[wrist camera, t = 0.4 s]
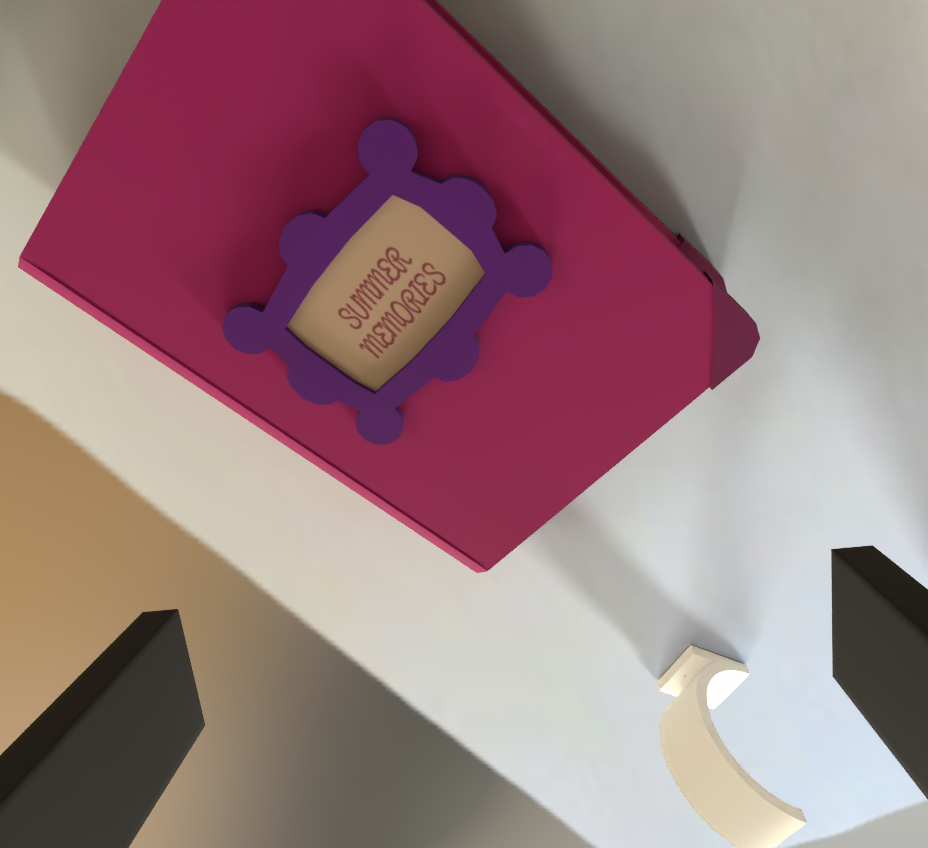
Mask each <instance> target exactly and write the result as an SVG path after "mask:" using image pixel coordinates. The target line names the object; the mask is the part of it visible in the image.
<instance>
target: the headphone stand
mask: <svg viewBox="0 0 928 848" xmlns="http://www.w3.org/2000/svg"><path fill="white" fill-rule="evenodd" d="M749 674H750V673H749V671H748V668H747V665H745V664H742V663H739V662H736V661H734V660H731V659H728V658H725V657H723V656H720V655H717V654H714V653H712V652H709V651H706V650H703V649H701V648H698V647H695V646H692V645H690V646H689V647H688V648H687V650H686V651H685V652H684V653H683V654H682V655H681V656H680V657H679V658H678V659H677V660H676V662H675V663H674V664H673V665H672V666H671V667H670V668H669V669H668V670H667V671H666V672H665V674H664V675H663V676H662V677H661V678H660V679H659V680H658V681H657V683H658V687H659V691H662V692H665V693H668V694H671V695H673V696H676V698H675V699H674V700H673V701H672V702H671V703H670V704H669V705H668V707H667V708H666V709H665V711H664V713H663V715H662V718H661V723H660V741H661V746H662V750H663V754H664V757H665V760H666V763H667V766H668V768H669V770H670V772H671V775H672V776H673V778H674V780H675V782H676V784H677V786H678V787H679V789H680V790H681V792H682V794H683V795H684V797H685V798H686V799H687V801H688V802H689V803H690V805H691V806H692V807H693V809H694V810H695V811H696V812H697V813H698V814H699V816H700V817H701V818H702V819H703V820H704V821H705V822H706V823H707V824H708V825H709V826H710V827H711V828H712V829H713V830H714V831H716V832H717V833H718V834H719V835H720V836H722V837H723V838H724V839H725V840H727V841H728V842H730V843H731V844H733V845H734V846H735V847H737V848H775V847H776V846H778V845H779V844H780V843H781V842H783V841H784V840H785V839H787V838H788V837H789V836H790V835H792V834H793V833H794V832H796V831H797V830H798V829H799V828H801V827H802V826H803V825H805V824H806V823H807V822H806V820H805V817H804V814H803V812H802V810H801V809H799V808H796V807H793V806H791V805H789V804H787V803H785V802H784V801H782V800H780V799H779V798H777V797H775V796H774V795H773V794H771V793H770V792H768V791H767V790H766V789H765V788H763V787H762V786H761V785H760V784H758V783H757V782H756V781H755V780H754V779H753V778H752V777H751V776H750V775H749V774H748V773H747V772H746V771H745V770H744V769H743V768H742V767H741V765H740V764H739V763H738V762H737V761H736V760H735V758H734V757H733V756H732V754H731V753H730V752H729V750H728V749H727V747H726V746H725V744H724V743H723V741H722V739H721V738H720V736H719V734H718V732H717V730H716V728H715V726H714V724H713V721H712V719H711V716H710V712H709V709H708V708H711V709H715V708H716V707H717V706H718V705H719V704H720V703H721V702H722V701H723V700H724V699H725V698H726V697H727V696H728V695H729V694H730V693H731V692H732V691H733V690H734V689H735V688H736V687H737V686H738V685H739V684H740V683H741V682H742V681H743V680H744V679H745V678H746V677H747V676H748V675H749Z"/></svg>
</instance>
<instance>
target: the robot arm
mask: <svg viewBox="0 0 928 848" xmlns="http://www.w3.org/2000/svg"><path fill="white" fill-rule="evenodd" d="M831 553H832V650H833V677H834V679H835V680H836V681H837V682H838V684H839V685H840V686H841V688H842V689H843V690H844V692H845V693H846V694H847V695H848V697H849V698H850V699H851V701H852V702H853V703H854V704H855V706H856V707H857V708H858V710H859V711H860V712H861V714H862V715H863V716H864V717H865V719H866V720H867V721H868V723H869V724H870V725H871V726H872V728H873V729H874V730H875V732H876V733H877V734H878V736H879V737H880V738H881V739H882V741H883V742H884V743H885V745H886V746H887V747H888V749H889V750H890V751H891V752H892V754H893V755H894V756H895V758H896V759H897V760H898V761H899V763H900V764H901V765H902V767H903V768H904V769H905V771H906V772H907V773H908V774H909V776H910V777H911V778H912V780H913V781H914V782H915V783H916V785H917V786H918V787H919V789H920V790H921V791H922V793H923V794H924V795H925V796H926V798H927V799H928V589H926V588H925V587H924V586H923V585H921V584H920V583H919V582H918V581H916V580H915V579H914V578H913V577H911V576H910V575H909V574H908V573H906V572H905V571H904V570H903V569H901V568H900V567H899V566H898V565H896V564H895V563H894V562H893V561H891V560H890V559H889V558H888V557H886V556H885V555H884V554H883V553H881V552H880V551H879V550H878V549H876V548H875V547H874V546H862V547H851V548H840V549H831ZM204 726H205V723H204V718H203V714H202V709H201V705H200V701H199V697H198V692H197V688H196V684H195V680H194V675H193V671H192V667H191V662H190V658H189V654H188V649H187V646H186V641H185V637H184V633H183V628H182V624H181V620H180V615H179V611H178V609H174V610H162V611H151V612H143V613H142V614H141V615H140V616H139V617H138V618H137V619H136V620H135V621H134V622H133V623H132V624H131V625H130V626H129V627H128V628H127V629H126V630H125V631H124V632H123V633H122V634H121V635H120V636H119V637H118V638H117V639H116V640H115V641H114V642H113V643H112V644H111V645H110V646H109V647H108V648H107V649H106V650H105V651H104V652H103V653H102V654H101V655H100V656H99V657H98V658H97V659H96V660H95V661H94V662H93V663H92V664H91V665H90V666H89V667H88V668H87V669H86V670H85V671H84V672H83V673H82V674H81V675H80V676H79V677H78V678H77V679H76V680H75V681H74V682H73V683H72V684H71V685H70V686H69V687H68V688H67V689H66V690H65V691H64V692H63V693H62V694H61V695H60V696H59V697H58V698H57V699H56V700H55V701H54V702H53V703H52V704H51V705H50V706H49V707H48V708H47V709H46V710H45V711H44V712H43V713H42V714H41V715H40V716H39V717H38V718H37V719H36V720H35V721H34V722H33V723H32V724H31V725H30V726H29V727H28V728H27V729H26V730H25V731H24V732H23V733H22V734H21V735H20V736H19V737H18V738H17V739H16V740H15V741H14V742H13V743H12V744H11V745H10V746H9V747H8V748H7V749H6V750H5V751H4V752H3V753H2V755H0V848H129V846H130V844H131V843H132V841H133V840H134V838H135V836H136V835H137V833H138V832H139V830H140V828H141V827H142V825H143V824H144V822H145V820H146V819H147V817H148V816H149V814H150V812H151V811H152V809H153V808H154V806H155V804H156V803H157V801H158V799H159V798H160V796H161V795H162V793H163V792H164V790H165V789H166V787H167V785H168V784H169V782H170V780H171V779H172V777H173V776H174V774H175V773H176V771H177V769H178V768H179V766H180V765H181V763H182V761H183V759H184V758H185V757H186V755H187V753H188V752H189V750H190V749H191V747H192V745H193V744H194V742H195V741H196V739H197V737H198V736H199V734H200V733H201V731H202V730H203V728H204Z"/></svg>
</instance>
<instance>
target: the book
mask: <svg viewBox="0 0 928 848" xmlns="http://www.w3.org/2000/svg"><path fill="white" fill-rule="evenodd" d="M18 267H19V268H20V269H22V270H23V271H25V272H26V273H28V274H29V275H31V276H32V277H34V278H35V279H37V280H38V281H40V282H41V283H43V284H44V285H46V286H47V287H49V288H50V289H52V290H53V291H55V292H56V293H58V294H59V295H61V296H62V297H64V298H65V299H67V300H68V301H70V302H71V303H73V304H74V305H76V306H77V307H79V308H80V309H82V310H83V311H85V312H86V313H88V314H89V315H91V316H92V317H94V318H95V319H97V320H98V321H100V322H101V323H103V324H104V325H106V326H107V327H109V328H110V329H112V330H113V331H115V332H116V333H118V334H119V335H121V336H122V337H124V338H125V339H127V340H128V341H130V342H131V343H133V344H134V345H136V346H137V347H139V348H140V349H142V350H143V351H145V352H146V353H148V354H149V355H151V356H152V357H154V358H155V359H157V360H158V361H160V362H161V363H163V364H164V365H166V366H167V367H169V368H170V369H172V370H173V371H175V372H176V373H178V374H179V375H181V376H182V377H184V378H185V379H187V380H188V381H190V382H191V383H193V384H194V385H196V386H197V387H199V388H200V389H202V390H203V391H205V392H206V393H208V394H209V395H211V396H212V397H214V398H215V399H217V400H218V401H220V402H221V403H223V404H224V405H226V406H227V407H229V408H230V409H232V410H233V411H235V412H236V413H238V414H239V415H241V416H242V417H244V418H245V419H247V420H248V421H250V422H251V423H253V424H254V425H256V426H257V427H259V428H260V429H262V430H263V431H265V432H266V433H268V434H269V435H271V436H272V437H274V438H275V439H277V440H278V441H280V442H281V443H283V444H284V445H286V446H287V447H289V448H290V449H292V450H293V451H295V452H296V453H298V454H299V455H301V456H302V457H304V458H305V459H307V460H308V461H310V462H311V463H313V464H314V465H316V466H317V467H319V468H320V469H322V470H323V471H325V472H326V473H328V474H329V475H331V476H332V477H334V478H335V479H337V480H338V481H340V482H341V483H343V484H344V485H346V486H347V487H349V488H350V489H352V490H353V491H355V492H356V493H358V494H359V495H361V496H362V497H364V498H365V499H367V500H368V501H370V502H371V503H373V504H374V505H376V506H377V507H379V508H380V509H382V510H383V511H385V512H386V513H388V514H389V515H391V516H392V517H394V518H395V519H397V520H398V521H400V522H401V523H403V524H404V525H406V526H407V527H409V528H410V529H412V530H413V531H415V532H416V533H418V534H419V535H421V536H422V537H424V538H425V539H427V540H428V541H430V542H431V543H433V544H434V545H436V546H437V547H439V548H440V549H442V550H443V551H445V552H446V553H448V554H449V555H451V556H452V557H454V558H455V559H457V560H458V561H460V562H461V563H463V564H464V565H466V566H467V567H469V568H470V569H472V570H473V571H475V572H477V573H480V572H485V571H488V570H489V569H491V568H492V567H493V566H494V565H495V564H497V563H498V562H499V561H500V560H501V559H503V558H504V557H505V556H506V555H508V554H509V553H510V552H511V551H512V550H514V549H515V548H516V547H517V546H518V545H520V544H521V543H522V542H523V541H524V540H526V539H527V538H528V537H529V536H530V535H532V534H533V533H534V532H535V531H536V530H538V529H539V528H540V527H541V526H543V525H544V524H545V523H546V522H547V521H549V520H550V519H551V518H552V517H553V516H555V515H556V514H557V513H558V512H559V511H561V510H562V509H563V508H564V507H565V506H567V505H568V504H569V503H570V502H571V501H573V500H574V499H575V498H576V497H577V496H579V495H580V494H581V493H582V492H584V491H585V490H586V489H587V488H588V487H590V486H591V485H592V484H593V483H594V482H596V481H597V480H598V479H599V478H600V477H602V476H603V475H604V474H605V473H606V472H608V471H609V470H610V469H611V468H612V467H614V466H615V465H616V464H617V463H619V462H620V461H621V460H622V459H623V458H625V457H626V456H627V455H628V454H629V453H631V452H632V451H633V450H634V449H635V448H637V447H638V446H639V445H640V444H641V443H643V442H644V441H645V440H646V439H647V438H649V437H650V436H651V435H652V434H653V433H655V432H656V431H657V430H658V429H660V428H661V427H662V426H663V425H664V424H666V423H667V422H668V421H669V420H670V419H672V418H673V417H674V416H675V415H676V414H678V413H679V412H680V411H681V410H682V409H684V408H685V407H686V406H687V405H688V404H690V403H691V402H692V401H693V400H695V399H696V398H697V397H698V396H699V395H701V394H702V393H703V392H704V391H705V390H707V389H708V388H709V387H710V388H711V389H712V390H713V389H714V388H715V387H716V386H717V385H719V384H720V383H721V382H722V381H723V380H725V379H726V378H727V377H728V376H730V375H731V374H732V373H733V372H734V371H736V370H737V369H738V368H739V367H740V366H742V365H743V364H744V363H745V362H747V361H748V360H749V359H750V358H751V357H752V356H753V354H754V351H755V349H756V347H757V344H758V342H759V340H760V336H759V332H758V329H757V325H756V323H755V322H754V321H753V319H752V318H751V317H750V316H749V314H748V313H747V312H746V311H745V310H744V309H743V308H742V307H741V306H740V305H739V304H738V303H737V302H736V301H735V300H734V299H733V298H732V297H731V296H730V295H729V294H728V293H727V291H726V287H725V283H724V279H723V278H722V276H721V275H720V274H719V273H718V271H717V270H716V269H715V268H714V267H713V266H712V265H711V264H710V263H709V262H708V261H707V260H706V259H705V258H704V257H703V256H702V255H701V254H700V253H699V252H698V251H697V250H696V249H695V248H694V247H693V246H692V245H691V244H690V243H689V242H688V241H687V240H686V239H685V238H684V237H683V236H682V235H681V234H680V233H679V236H678V238H677V237H676V236H675V235H674V234H673V233H672V232H671V231H670V230H669V229H668V228H667V227H666V226H665V225H664V224H663V223H662V222H661V221H660V220H659V219H658V218H657V217H656V216H655V215H654V214H653V213H652V212H650V211H649V210H648V209H647V208H646V207H645V206H644V205H643V204H642V203H641V202H640V201H639V200H638V199H637V198H636V197H635V196H634V195H633V194H632V193H631V192H630V191H629V190H628V189H627V188H626V187H625V186H624V185H623V184H622V183H621V182H620V181H619V180H618V179H617V178H616V177H615V176H614V175H613V174H612V173H611V172H610V171H609V170H608V169H607V168H606V167H605V166H604V165H603V164H602V163H601V162H600V161H599V160H598V159H597V158H596V157H595V156H594V155H593V154H592V153H591V152H590V151H589V150H588V149H587V148H586V147H585V146H584V145H583V144H582V143H581V142H580V141H579V140H578V139H577V138H576V137H575V136H574V135H573V134H572V133H571V132H569V131H568V130H567V129H566V128H565V127H564V126H563V125H562V124H561V123H560V122H559V121H558V120H557V119H556V118H555V117H554V116H553V115H552V114H551V113H550V112H549V111H548V110H547V109H546V108H545V107H544V106H543V105H542V104H541V103H540V102H539V101H538V100H537V99H536V98H535V97H534V96H533V95H532V94H531V93H530V92H529V91H528V90H527V89H526V88H525V87H524V86H523V85H522V84H521V83H520V82H519V81H518V80H517V79H516V78H515V77H514V76H513V75H512V74H511V73H510V72H509V71H508V70H507V69H506V68H505V67H504V66H503V65H502V64H501V63H500V62H499V61H498V60H497V59H496V58H495V57H494V56H493V55H492V54H491V53H490V52H488V51H487V50H486V49H485V48H484V47H483V46H482V45H481V44H480V43H479V42H478V41H477V40H476V39H475V38H474V37H473V36H472V35H471V34H470V33H469V32H468V31H467V30H466V29H465V28H464V27H463V26H462V25H461V24H460V23H459V22H458V21H457V20H456V19H455V18H454V17H453V16H452V15H451V14H450V13H449V12H448V11H447V10H446V9H445V8H444V7H443V6H442V5H441V4H440V3H439V2H438V1H437V0H162V1H161V3H160V5H159V6H158V8H157V10H156V12H155V14H154V15H153V17H152V19H151V21H150V23H149V24H148V26H147V28H146V30H145V32H144V33H143V35H142V37H141V39H140V41H139V42H138V44H137V46H136V48H135V50H134V51H133V53H132V55H131V57H130V59H129V60H128V62H127V64H126V66H125V68H124V69H123V71H122V73H121V75H120V77H119V78H118V80H117V82H116V84H115V86H114V87H113V89H112V91H111V93H110V95H109V96H108V98H107V100H106V102H105V104H104V105H103V107H102V109H101V111H100V113H99V115H98V116H97V118H96V120H95V122H94V124H93V125H92V127H91V129H90V131H89V133H88V134H87V136H86V138H85V140H84V142H83V143H82V145H81V147H80V149H79V151H78V152H77V154H76V156H75V158H74V160H73V161H72V163H71V165H70V167H69V169H68V170H67V172H66V174H65V176H64V178H63V179H62V181H61V183H60V185H59V187H58V188H57V190H56V192H55V194H54V196H53V197H52V199H51V201H50V203H49V205H48V206H47V208H46V210H45V212H44V214H43V215H42V217H41V219H40V221H39V223H38V224H37V226H36V228H35V230H34V232H33V233H32V235H31V237H30V239H29V241H28V243H27V244H26V246H25V248H24V250H23V252H22V253H21V255H20V258H19V265H18Z"/></svg>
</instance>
